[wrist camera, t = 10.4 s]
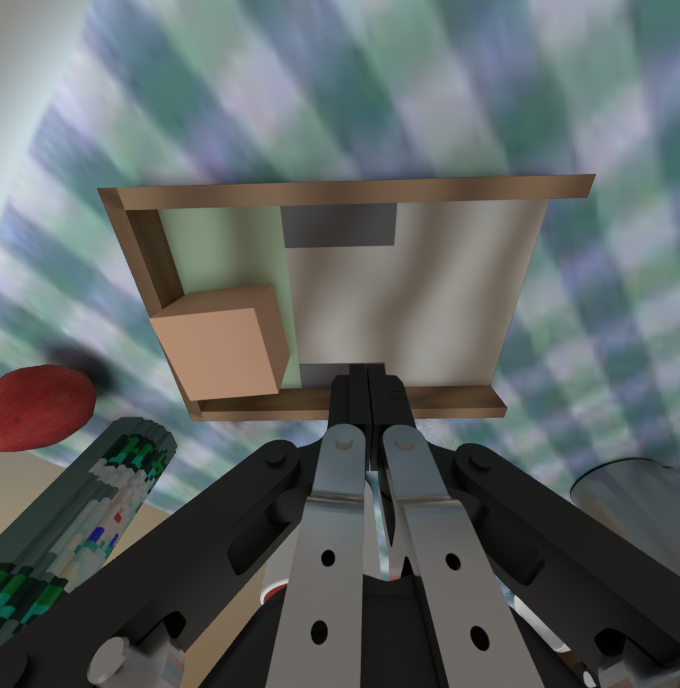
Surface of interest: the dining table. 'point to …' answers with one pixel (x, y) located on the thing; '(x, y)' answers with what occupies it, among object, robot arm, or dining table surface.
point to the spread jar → (558, 645)
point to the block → (225, 342)
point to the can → (78, 520)
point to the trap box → (351, 277)
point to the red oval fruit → (43, 406)
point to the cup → (284, 554)
